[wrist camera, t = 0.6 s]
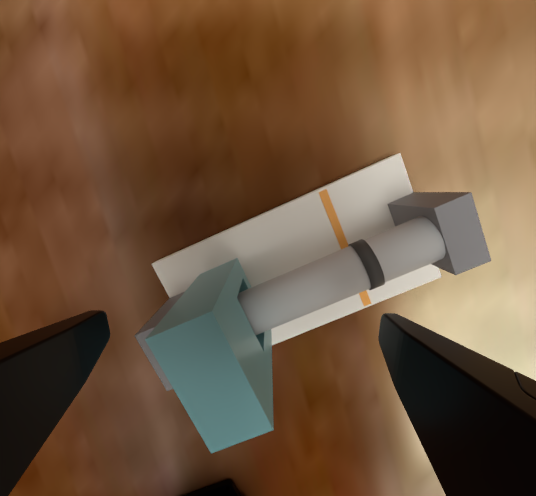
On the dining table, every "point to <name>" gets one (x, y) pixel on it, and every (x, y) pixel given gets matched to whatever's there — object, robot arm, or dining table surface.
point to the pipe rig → (333, 252)
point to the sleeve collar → (217, 359)
